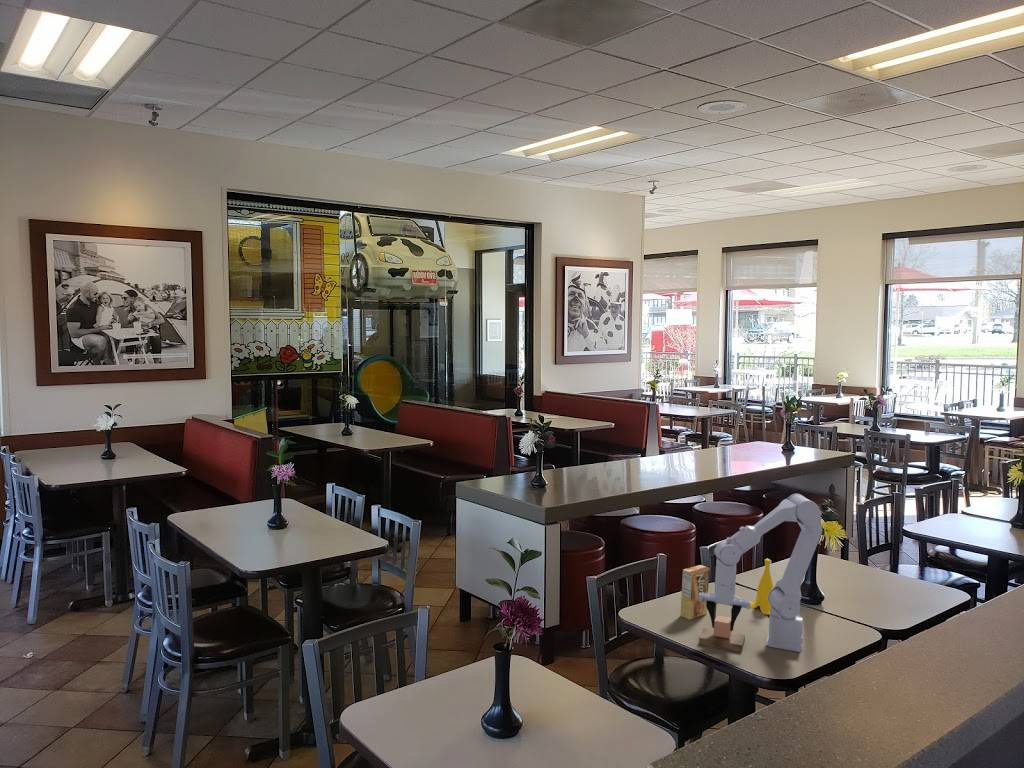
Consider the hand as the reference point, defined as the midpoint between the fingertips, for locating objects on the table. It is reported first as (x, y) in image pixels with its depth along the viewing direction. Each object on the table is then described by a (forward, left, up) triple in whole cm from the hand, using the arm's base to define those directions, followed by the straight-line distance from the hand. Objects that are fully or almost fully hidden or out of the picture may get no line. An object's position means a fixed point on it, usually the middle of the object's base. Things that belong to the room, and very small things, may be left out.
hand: (722, 628), depth 225 cm
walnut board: (0, 0, -4) cm, 4 cm away
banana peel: (-7, -35, -5) cm, 36 cm away
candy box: (+11, -18, -5) cm, 22 cm away
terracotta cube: (0, 0, -2) cm, 2 cm away
